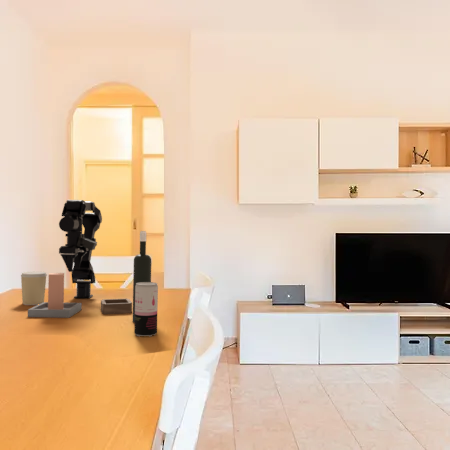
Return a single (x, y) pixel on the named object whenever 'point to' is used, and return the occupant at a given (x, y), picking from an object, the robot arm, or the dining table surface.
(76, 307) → the grey square tray
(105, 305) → the walnut sleeve
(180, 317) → the dining table surface
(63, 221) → the robot arm
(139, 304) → the beverage can
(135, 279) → the wine bottle
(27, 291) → the coffee cup
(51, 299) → the terracotta block
